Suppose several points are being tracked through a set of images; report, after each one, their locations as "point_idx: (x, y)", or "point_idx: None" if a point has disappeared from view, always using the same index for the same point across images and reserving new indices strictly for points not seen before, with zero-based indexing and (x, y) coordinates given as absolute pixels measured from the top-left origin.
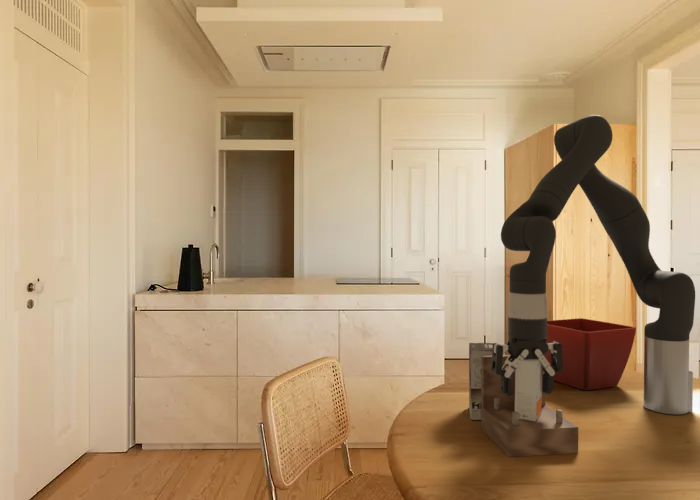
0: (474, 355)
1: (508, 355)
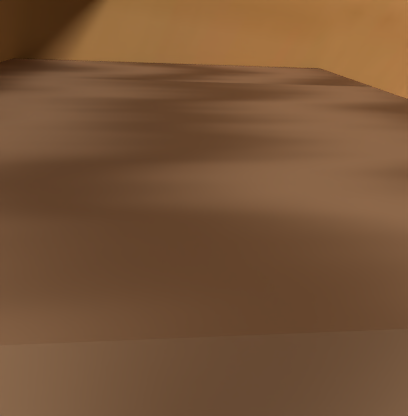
0: None
1: (49, 399)
